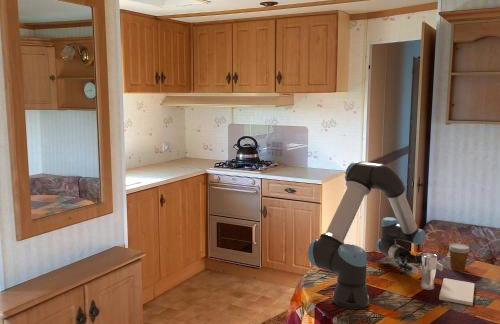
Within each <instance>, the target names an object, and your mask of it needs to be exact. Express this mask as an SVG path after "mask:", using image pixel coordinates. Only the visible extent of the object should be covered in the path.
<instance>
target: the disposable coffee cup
mask: <svg viewBox="0 0 500 324" xmlns="http://www.w3.org/2000/svg"><path fill="white" fill-rule="evenodd" d="M448 248H449V255H450V256H449V259H450V269H451V270H452V271H454V272H455V271H456V272H465V269H466V265H467V260H468V256H469V253H470V251H471V249H470V247H469V245H467V244H463V243H458V242H457V243H455V242H454V243H451V244H450V245H449V247H448Z"/></svg>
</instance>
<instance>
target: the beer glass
mask: <svg viewBox="0 0 500 324" xmlns="http://www.w3.org/2000/svg"><path fill="white" fill-rule="evenodd" d="M421 255H422V257H421V263H420V274H421V276H420V277H421V282H420V284H419V286H420V288H421V289H424V290H428V291H431V290H434V289H435V276H436V273H437V270H438V269H437V262H438V255H436V254H434V253H430V252H429V253H427V252H426V253H425V252H424V253H421Z"/></svg>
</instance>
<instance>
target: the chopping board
mask: <svg viewBox="0 0 500 324" xmlns="http://www.w3.org/2000/svg"><path fill="white" fill-rule="evenodd" d="M440 288H441V289H440V291H439V296H438V299H439V300H440V301H447V302H451V303H456V304H461V305H467V306H473V303H474V294H475V293H474V292H475V282H474V283H473V282H470V281H469V282H468V281H464V280H463V281H462V280H457V279H452V278H451V279H450V278H446V277H444V278H443V281H442V285H441V287H440Z"/></svg>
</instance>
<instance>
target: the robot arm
mask: <svg viewBox="0 0 500 324" xmlns="http://www.w3.org/2000/svg"><path fill="white" fill-rule="evenodd" d="M344 173H345V175H344V180H345V186H346V190H345V192H344V194H343V196H342V198H341V200H340V202H339V204H338V206H337V208H336V211H335V212H334V215H333V217H332V218H331V221H330V223H329V225H328V227H327V230H326V232H323V233H321V234H320V236H319V238H316V239H313V240H312V241H311V242H310V244H309V246H308V250H307V256H308V260H309V263H310V264H311V265H312V266H314V267H317V268H318V269H323V270H325V271H328V272H331V273H333V274H336V275H337V276H336V277H337V278H336V279H337V280H336V281H337V282H336V285H335V288H334V289H333V293H332V299H331V300H332V302H333V304H334V305H336V306H338V307H340V308H343V309H346V310H348V309H349V310H361V309H365V308H367V307H368V306H369V304H370V296H369V294H368V290H367V286H366V282H367V281H366V279H367V266H368V265H367V264H368V259H367V257H368V254H367V252H366V250H365V249H364V248H362V247H360V246H358V245H355V244H349V243H345V239H346V237H347V235H348V233H349V230H350V229H351V226H352V224H353V222H354V220H355V218H356V215H357V213H358V211H359V208H360V207H361V204H362V203H363V200H364V198H365V196H368V195H369V194H370V193H371V191H372V189H373V190H379V191H381V192H382V193H383V195H384V197H386V198H387V199H388V201H389V203H390V206H391V208H392V211H393V214H394V216H395V218H394V217H391V216H390V217H389V216H388V217H383V218H382V219H381V226H380V227H381V228H380V229H381V231H380V238H379V239H378V240H377V242H376V243H375V248H376V250H377V251H378V252H379V253H380V254H381V255H384V256H386V257H388V258H390V259H392V260H394V262H395V263H396V265H397V266H398V268H399V270H403V271H404V272H405V271H406V272H407V271H409V272H412V274H415V275H419V268H418V267H416V266H414V265H413V264H421V257H422V254H420V253H416V255H414V254H413V253H411V251H410V250H409V249H407V248H405V247H403V246H401V245H400V244H397V240H399V241H404V242H407V243H411V244H413V245H422V244H423V243H424V242H425V240H426V231H425V230H424V229H421V228H419V226H418V225H417V223H416V220H415V218H414V217H415V216H414V215H413V212H412V209H411V206H410V203H409V202H408V198H407V197H406V194H405V192H406V191H405V190H406V187H405V184H404V182H403V180H402V178H401V177H400V176H399V175H398V173H397V172H396V171H395V170H394V169H393V168H391V167H390V166H388V165H386V164H384V163H375V162H367V161H363V160H362V161H361V160H360V161H359V160H356V161H353V162H351V163H349V165H348V166H347V168H346V170H345V172H344ZM443 266H444V265H443V264H441V263H440V262H438V261H437V270H439V271H440V272H442V271H443Z"/></svg>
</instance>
